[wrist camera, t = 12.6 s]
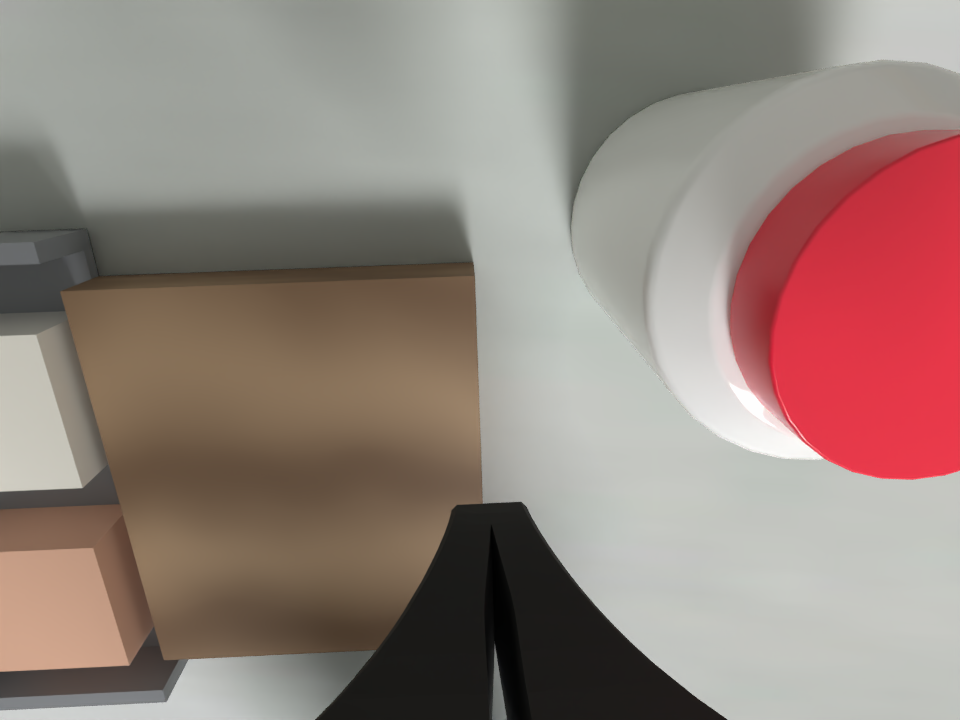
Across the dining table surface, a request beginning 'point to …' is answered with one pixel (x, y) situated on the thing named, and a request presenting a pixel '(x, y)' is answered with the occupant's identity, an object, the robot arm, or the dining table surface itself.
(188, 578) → the board
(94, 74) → the dining table surface
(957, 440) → the pill bottle
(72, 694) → the tray
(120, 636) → the tile terracotta
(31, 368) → the tile cream
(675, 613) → the dining table surface
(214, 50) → the dining table surface
